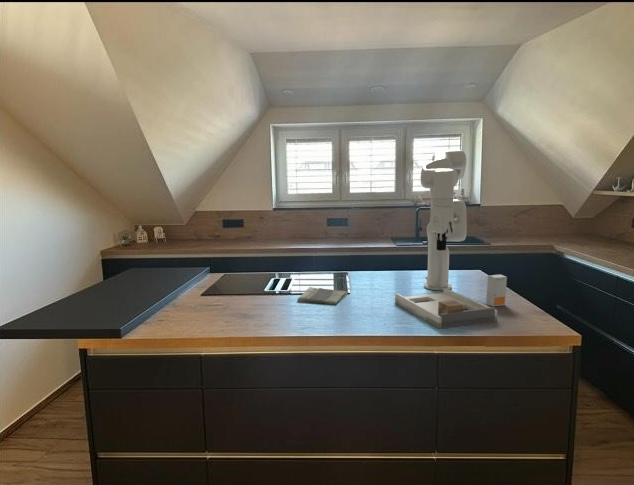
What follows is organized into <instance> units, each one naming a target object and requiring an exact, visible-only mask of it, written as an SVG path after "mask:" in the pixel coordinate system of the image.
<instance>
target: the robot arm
mask: <svg viewBox="0 0 634 485" xmlns="http://www.w3.org/2000/svg"><path fill="white" fill-rule="evenodd" d="M466 166H467V155H466V153H465V151H464V150H462V149H445V150H444V149H443V150H438V151H436V152H435V153H433V155H432V158H431V161H430V162H428V163H425V164H424V165H423V166H422V168H421V172H420V184H421V186H422V187H423V188H425V189H429V191H430V216H429V222H428V224H427V226H426V236H427V275H426V276H424V279H425V280H426V282H424V284H423V288H425V289H428V290H431V291H443V288H446V289H448V290H451V289H452V284H450V283H449V270H450V268H449V266H450V249H449V247H448V246H447V242H457V243H458V242H459V243H460V242H463V241H465V240H466V238H467V233H468V232H467V228H468V226H467V225H468V224H467V205H466V202H465V201H464V200H462V199H454V193H455V191H454V190H455V186H456V185H457V184H458V183H459V180H462V179H463V177H464V175H465V173H466V172H465V171H466Z"/></svg>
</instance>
